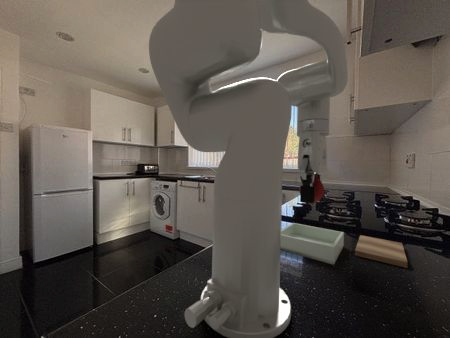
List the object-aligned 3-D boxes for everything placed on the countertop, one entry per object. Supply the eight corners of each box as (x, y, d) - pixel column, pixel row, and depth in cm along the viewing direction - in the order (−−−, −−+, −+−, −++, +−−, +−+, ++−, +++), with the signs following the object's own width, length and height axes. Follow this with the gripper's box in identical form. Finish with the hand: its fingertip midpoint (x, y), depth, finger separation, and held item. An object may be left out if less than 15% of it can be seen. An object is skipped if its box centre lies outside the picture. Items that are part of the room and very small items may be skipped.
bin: (333, 264, 41) (334, 247, 41) (274, 247, 49) (274, 233, 49) (343, 246, 52) (343, 232, 52) (292, 234, 60) (293, 222, 60)
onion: (318, 202, 53) (319, 173, 53) (327, 207, 47) (328, 173, 47) (296, 202, 54) (297, 172, 54) (302, 206, 48) (303, 173, 48)
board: (407, 268, 41) (407, 262, 41) (354, 255, 46) (355, 250, 46) (401, 247, 52) (402, 243, 52) (360, 239, 57) (360, 235, 57)
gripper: (320, 121, 41) (318, 207, 42) (335, 133, 55) (334, 198, 55) (285, 125, 46) (283, 203, 46) (307, 135, 59) (305, 195, 60)
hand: (311, 199), depth 51 cm, fingers closed on onion, 5 cm apart
